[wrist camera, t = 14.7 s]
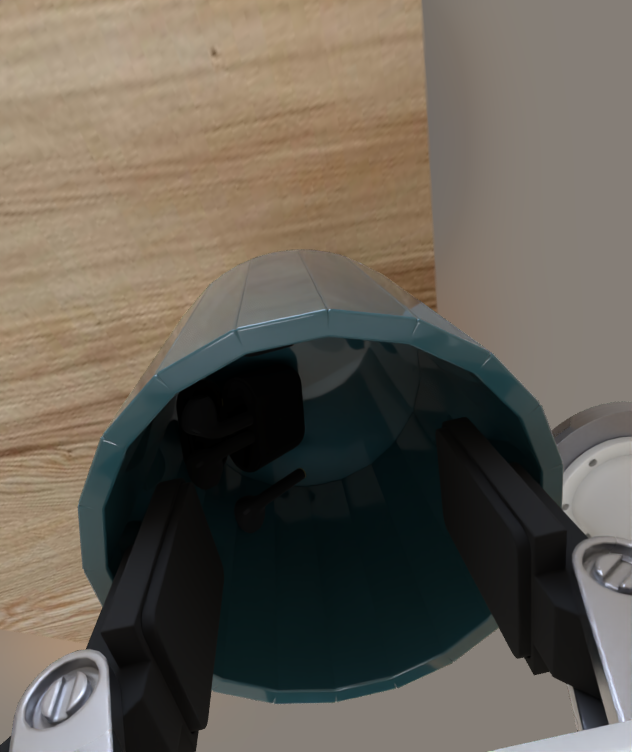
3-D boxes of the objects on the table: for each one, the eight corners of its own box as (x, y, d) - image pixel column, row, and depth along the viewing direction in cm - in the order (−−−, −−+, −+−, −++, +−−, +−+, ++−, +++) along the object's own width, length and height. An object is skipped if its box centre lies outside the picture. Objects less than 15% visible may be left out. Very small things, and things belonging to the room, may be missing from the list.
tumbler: (413, 222, 16) (572, 257, 8) (436, 459, 20) (558, 652, 11) (132, 281, 16) (-18, 382, 7) (211, 508, 20) (171, 741, 11)
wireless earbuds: (318, 493, 17) (223, 568, 13) (266, 481, 18) (165, 545, 14) (305, 306, 16) (193, 324, 11) (249, 307, 17) (131, 324, 13)
